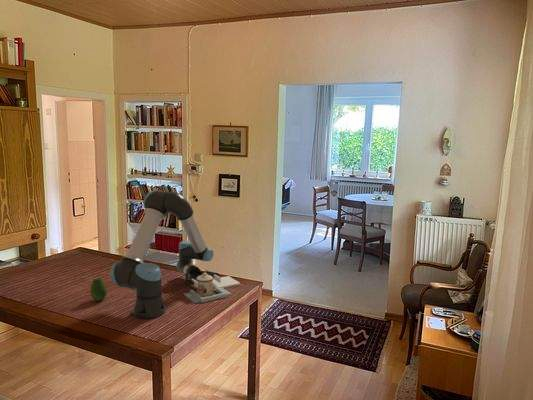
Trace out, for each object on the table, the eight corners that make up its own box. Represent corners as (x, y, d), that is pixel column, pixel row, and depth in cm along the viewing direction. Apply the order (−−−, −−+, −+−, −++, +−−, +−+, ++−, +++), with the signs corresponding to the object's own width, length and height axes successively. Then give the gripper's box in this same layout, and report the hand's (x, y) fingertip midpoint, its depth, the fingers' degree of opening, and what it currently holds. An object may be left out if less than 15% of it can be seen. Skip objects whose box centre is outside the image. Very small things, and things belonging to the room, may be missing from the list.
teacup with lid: (193, 294, 219) (192, 274, 217) (203, 289, 227) (203, 269, 225) (210, 299, 213) (210, 278, 211) (220, 293, 221) (220, 273, 219)
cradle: (195, 304, 206) (195, 300, 206) (183, 294, 218) (183, 291, 218) (232, 295, 219) (232, 291, 218) (219, 286, 231) (219, 283, 231)
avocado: (91, 298, 211) (90, 276, 209) (107, 296, 214) (106, 275, 212) (90, 304, 204) (89, 281, 202) (107, 302, 206) (106, 280, 204)
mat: (219, 289, 227) (219, 287, 227) (207, 281, 239) (207, 280, 238) (240, 284, 235) (240, 282, 235) (228, 277, 247) (228, 276, 246)
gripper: (211, 274, 242) (228, 284, 225) (171, 281, 228) (187, 293, 211) (211, 262, 241) (228, 271, 224) (171, 269, 227) (187, 280, 210)
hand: (208, 282), depth 217 cm, fingers open, 13 cm apart
